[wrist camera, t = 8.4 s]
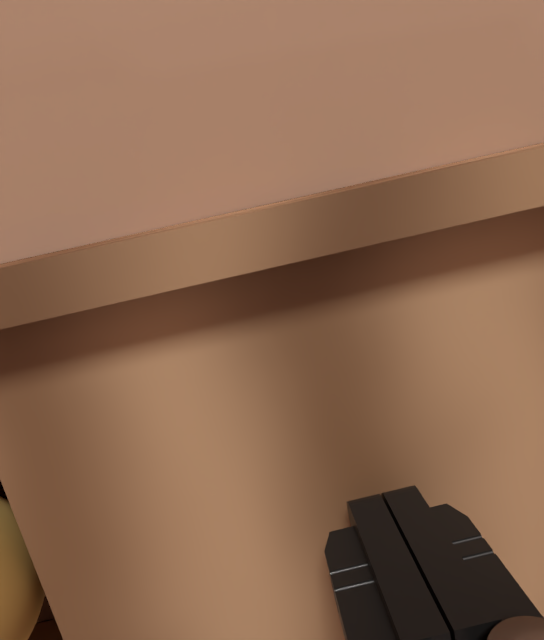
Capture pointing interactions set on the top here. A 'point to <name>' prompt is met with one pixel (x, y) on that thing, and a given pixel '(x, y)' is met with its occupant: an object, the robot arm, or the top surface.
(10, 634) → the ball
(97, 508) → the wooden slide tray
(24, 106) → the top surface
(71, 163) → the top surface
